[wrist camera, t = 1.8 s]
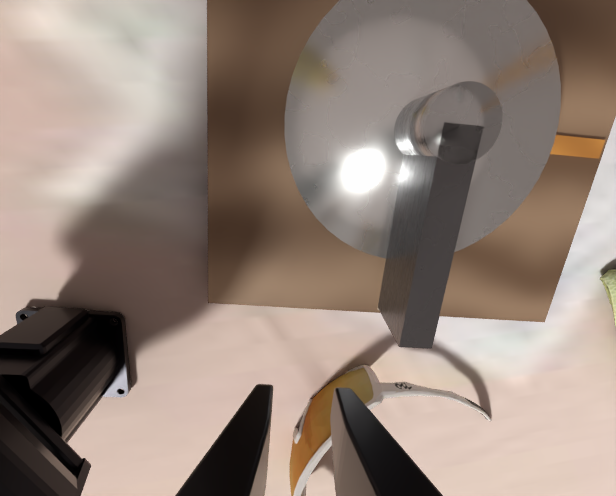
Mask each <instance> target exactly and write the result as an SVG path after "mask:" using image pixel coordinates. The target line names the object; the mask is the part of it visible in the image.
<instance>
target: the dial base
mask: <svg viewBox="0 0 616 496" xmlns="http://www.w3.org/2000/svg"><path fill="white" fill-rule="evenodd" d="M338 1H340V0H207V114H208V303H220V304H238V305H255V306H273V307H290V308H308V309H325V310H342V311H360V312H377V313H381V312H380V310H379V309H378V302H379V296H380V290H381V284H382V278H383V273H384V267H385V261H386V258H381V257H377V256H374V255H370V254H367V253H365V252H362V251H360V250H358V249H355V248H353V247H352V246H350V245H348V244H346V243H345V242H343V241H341V240H340V239H339V238H337V237H336V236H335V235H334V234H332V233H331V232H330V231H328V230H327V229H326V228H325V227H324V226H323V225H322V223H321V222H320V221H319V220H318V219H317V218H316V217H315V216H314V214H313V213H312V212H311V210H310V209H309V208H308V206H307V205H306V203H305V201H304V199H303V198H302V196H301V194H300V192H299V190H298V188H297V186H296V183H295V181H294V178H293V175H292V173H291V169H290V165H289V161H288V157H287V151H286V143H285V109H286V101H287V94H288V90H289V86H290V82H291V78H292V75H293V72H294V69H295V67H296V64H297V62H298V59H299V56H300V54H301V52H302V50H303V49H304V47H305V45H306V43H307V41H308V39H309V37H310V36H311V34H312V33H313V31H314V30H315V29H316V27H317V26H318V24H319V23H320V21H321V20H322V19H323V17H324V16H325V15H326V14H327V13H328V12H329V11H330V10H331V9H332V8H333V7H334V6H335V4H336V3H337V2H338ZM527 1H528V2H529V4H530V5H531V6H532V7H533V9H534V10H535V11H536V12H537V14H538V16H539V17H540V19H541V21H542V23H543V24H544V26H545V28H546V30H547V32H548V34H549V37H550V39H551V42H552V44H553V47H554V50H555V54H556V58H557V62H558V66H559V74H560V83H561V107H560V115H559V123H558V128H557V132H556V136H555V140H554V144H553V147H552V150H551V152H550V155H549V158H548V161H547V163H546V165H545V167H544V169H543V171H542V173H541V175H540V177H539V179H538V180H537V182H536V184H535V185H534V187H533V188H532V190H531V192H530V193H529V195H528V196H527V197H526V198H525V200H524V201H523V202H522V203H521V205H520V206H519V207H518V208H517V209H516V210H515V211H514V212H513V214H512V215H511V216H510V217H509V218H508V219H507V220H506V221H505V222H503V223H502V224H501V225H500V226H498V227H497V228H496V229H495V230H494V231H492V232H491V233H490V234H488V235H486V236H485V237H483V238H482V239H480V240H479V241H477V242H475V243H473V244H471V245H469V246H467V247H465V248H463V249H461V250H458V251H456V252H454V256H453V260H452V264H451V268H450V273H449V277H448V281H447V285H446V290H445V294H444V298H443V303H442V307H441V311H440V315H439V316H447V317H464V318H482V319H499V320H517V321H534V322H545V319H546V316H547V313H548V310H549V308H550V305H551V302H552V299H553V296H554V293H555V290H556V287H557V284H558V281H559V279H560V276H561V273H562V270H563V267H564V264H565V261H566V258H567V255H568V253H569V250H570V247H571V244H572V241H573V238H574V235H575V232H576V229H577V226H578V224H579V221H580V218H581V215H582V212H583V209H584V206H585V203H586V200H587V197H588V195H589V192H590V189H591V186H592V183H593V180H594V177H595V174H596V171H597V169H598V166H599V163H600V160H601V157H602V154H603V151H604V148H605V145H606V142H607V140H608V137H609V134H610V131H611V128H612V125H613V122H614V119H615V116H616V0H527Z"/></svg>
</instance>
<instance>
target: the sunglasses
mask: <svg viewBox="0 0 616 496" xmlns="http://www.w3.org/2000/svg"><path fill="white" fill-rule="evenodd" d="M337 387H341V388H350V389H352V390H353V391H354V392H355V394H356V395H357V396H358V397H359V398H360V399H361V401H362V402H363V403H364V404H365V405H366V406H367V408H368V409H369V410H370V409H372V408H374V407H375V406H377V405H378V404H380V403H381V402H382V400H383V399H384V398H393V397H407V396H432V397H442V398H446V399H450V400H454V401H457V402H459V403H461V404H464V405H466V406H468V407H470V408H472V409H474V410H476V411H478V412H480V413H481V414H482V415H483V416H484V417H485V418H486V419H487V420H489V421H491V418H490V417H489V416H488V414H487V413H486V412H485V411H484V410H483V409H482V408H481V407H480V406H478V405H477V404H475V403H474V402H472V401H470V400H468V399H466V398H464V397H462V396H460V395H457V394H455V393H453V392H451V391H443V390H437V389H431V388H426V387H421V386H417V385H414V384H410V383H407V382H396V383H380V382H379V380H378V378H377V376H376V374H375V373H374V371H373V370H372V369H371V368H370V367H369V366H368V365H361V366H358V367H356V368H353V369H351V370H349V371H347V372H346V373H345V374H344V375H342V376H340V377H338V378H337V379H335V380H334V381H332V382H331V383H329V384H328V385H327V386H325V387H324V388H323V389H322V390H321V391H320V392H319V393H318V394H317V395H316V396H315V397H314V398H313V399H310V401H309V402H308V405H307V407H306V409H305V411H304V414H303V417H302V420H301V423H300V427H299V429H298V428H295V429H294V433H293V444H292V451H291V459H290V485H291V496H306V483H307V481H308V478H309V476H310V474H311V473H312V471H313V470H314V468H315V467H316V465H317V464H318V462H319V461H320V459H321V458H322V457H323V455H324V454H325V453H326V452H327V451H328V449H329V448H330V447H331V446H332V438H331V423H330V416H331V407H332V400H333V393H334V389H335V388H337Z"/></svg>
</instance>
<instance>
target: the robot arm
mask: <svg viewBox="0 0 616 496" xmlns="http://www.w3.org/2000/svg"><path fill="white" fill-rule="evenodd" d="M25 314H26V315H27V316H28V317H27V316H26V315H25ZM113 318H114V319H116V320H117V321H118V322H115V321H114V320H113ZM16 320H17V325H16V326H14V327H13V328H11V329H9V330H8V331H6V332H5V333H3V334H2V335H0V496H81V493H82V490H83V487H84V484H85V482H86V479H87V476H88V473H89V470H90V468H91V464H90V463H89V462H88V461H87V460H86V459H85V458H83V459H82V458H81V457H80V456H79V455H78V454H77V453H76V452H75V451H74V450H73V449H72V448H71V447H70V446H69V445H68V444H67V443H68V441H69V440H70V439H71V437H72V436H73V435H74V433H75V432H76V431H77V429H78V428H79V427H80V425H81V424H82V423H83V422H84V420H85V419H86V418H87V416H88V415H89V414H90V412H91V411H92V410H93V408H94V407H95V406H96V404H97V403H98V402H99V401H100V399H101V398H102V397H125V396H127V394H128V393H129V391H130V390H131V383H130V372H129V361H128V350H127V339H126V327H125V318H124V316H123V315H122V314H121V313H118V312H105V311H88V310H86V309H81V308H63V307H44V308H31V307H26V308H23V309H22V310H20V311H18V312H17V313H16ZM120 388H121V389H123V390H121V389H120ZM272 399H273V386H272V385H266V384H258V385H256V386H255V388H254V389H253V390H252V392H251V393H250V394H249V396H248V397H247V399H246V400H245V401H244V403H243V404H242V405H241V407H240V408H239V409H238V411H237V412H236V414H235V415H234V416H233V418H232V419H231V420H230V422H229V423H228V424H227V426H226V427H225V429H224V430H223V431H222V433H221V434H220V435H219V437H218V438H217V439H216V441H215V442H214V444H213V445H212V446H211V448H210V449H209V450H208V452H207V453H206V455H205V456H204V457H203V459H202V460H201V461H200V463H199V464H198V465H197V467H196V468H195V470H194V471H193V472H192V474H191V475H190V476H189V478H188V479H187V480H186V482H185V483H184V485H183V486H182V487H181V489H180V490H179V491H178V493H177V494H176V495H175V496H264V495H265V488H266V479H267V467H268V453H269V440H270V427H271V413H272ZM330 423H331V438H332V453H333V467H334V480H335V490H336V496H443V495H442V494H441V493H440V492H439V491H438V489H437V488H436V487H435V486H434V485H433V484H432V482H431V481H430V480H429V479H428V478H427V477H426V475H425V474H424V473H423V472H422V471H421V470H420V468H419V467H418V466H417V465H416V464H415V462H414V461H413V460H412V459H411V458H410V457H409V455H408V454H407V453H406V452H405V451H404V450H403V448H402V447H401V446H400V445H399V444H398V443H397V441H396V440H395V439H394V438H393V437H392V436H391V434H390V433H389V432H388V431H387V430H386V429H385V427H384V426H383V425H382V424H381V423H380V422H379V420H378V419H377V418H376V417H375V416H374V415H373V413H372V412H371V411H370V410H369V409H368V408H367V406H366V405H365V404H364V403H363V402H362V401H361V399H360V398H359V397H358V396H357V395H356V394H355V392H354V391H353V390H352V389H350V388H341V387H337V388H335V389H334V393H333V400H332V407H331V416H330Z"/></svg>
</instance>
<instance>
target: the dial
mask: <svg viewBox="0 0 616 496" xmlns="http://www.w3.org/2000/svg"><path fill="white" fill-rule="evenodd" d="M560 107H561V83H560V74H559V66H558V62H557V58H556V54H555V50H554V47H553V44H552V42H551V39H550V37H549V34H548V32H547V30H546V28H545V26H544V24H543V23H542V21H541V19H540V17H539V16H538V14H537V12H536V11H535V10H534V9H533V7H532V6H531V5H530V4H529V2H528V1H527V0H340V1H338V2H337V3H336V4H335V6H334V7H333V8H332V9H331V10H330V11H329V12H328V13H327V14H326V15H325V16H324V17H323V19H322V20H321V21H320V23H319V24H318V26H317V27H316V29H315V30H314V31H313V33H312V34H311V36H310V37H309V39H308V41H307V43H306V45H305V47H304V49H303V50H302V52H301V54H300V56H299V59H298V62H297V64H296V67H295V69H294V72H293V75H292V78H291V82H290V86H289V90H288V94H287V101H286V109H285V143H286V151H287V157H288V161H289V165H290V169H291V173H292V175H293V178H294V181H295V183H296V186H297V188H298V190H299V192H300V194H301V196H302V198H303V199H304V201H305V203H306V205H307V206H308V208H309V209H310V210H311V212H312V213H313V214H314V216H315V217H316V218H317V219H318V220H319V221H320V222H321V223H322V225H323V226H324V227H325V228H326V229H327V230H328V231H330V232H331V233H332V234H334V235H335V236H336V237H337V238H339V239H340V240H341V241H343V242H345V243H346V244H348V245H350V246H352V247H353V248H355V249H358V250H360V251H362V252H365V253H367V254H370V255H374V256H377V257H381V258H386V261H385V267H384V273H383V278H382V284H381V290H380V296H379V302H378V309H379V310H380V312H381V314H382V316H383V318H384V320H385V322H386V323H387V325H388V327H389V329H390V331H391V333H392V335H393V336H394V338H395V340H396V342H397V344H398V346H399V347H412V348H432V345H433V341H434V337H435V332H436V328H437V324H438V320H439V315H440V311H441V307H442V303H443V298H444V294H445V290H446V285H447V281H448V277H449V273H450V268H451V264H452V260H453V256H454V252H456V251H458V250H461V249H463V248H465V247H467V246H469V245H471V244H473V243H475V242H477V241H479V240H480V239H482V238H483V237H485V236H486V235H488V234H490V233H491V232H492V231H494V230H495V229H496V228H497V227H498V226H500V225H501V224H502V223H503V222H505V221H506V220H507V219H508V218H509V217H510V216H511V215H512V214H513V212H514V211H515V210H516V209H517V208H518V207H519V206H520V205H521V203H522V202H523V201H524V200H525V198H526V197H527V196H528V195H529V193H530V192H531V190H532V188H533V187H534V185H535V184H536V182H537V180H538V179H539V177H540V175H541V173H542V171H543V169H544V167H545V165H546V163H547V161H548V158H549V155H550V152H551V150H552V147H553V144H554V140H555V136H556V132H557V128H558V123H559V115H560Z"/></svg>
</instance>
